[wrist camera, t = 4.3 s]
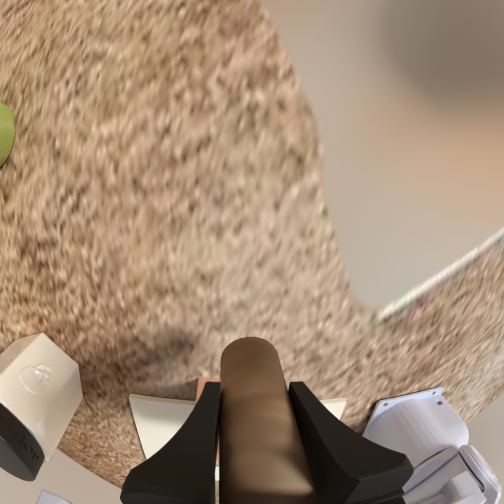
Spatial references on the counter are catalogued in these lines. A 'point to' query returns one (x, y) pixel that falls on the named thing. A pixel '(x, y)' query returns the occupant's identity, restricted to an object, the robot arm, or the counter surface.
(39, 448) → the jar
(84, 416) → the counter surface
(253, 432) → the pestle
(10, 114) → the plant pot
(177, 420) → the board
